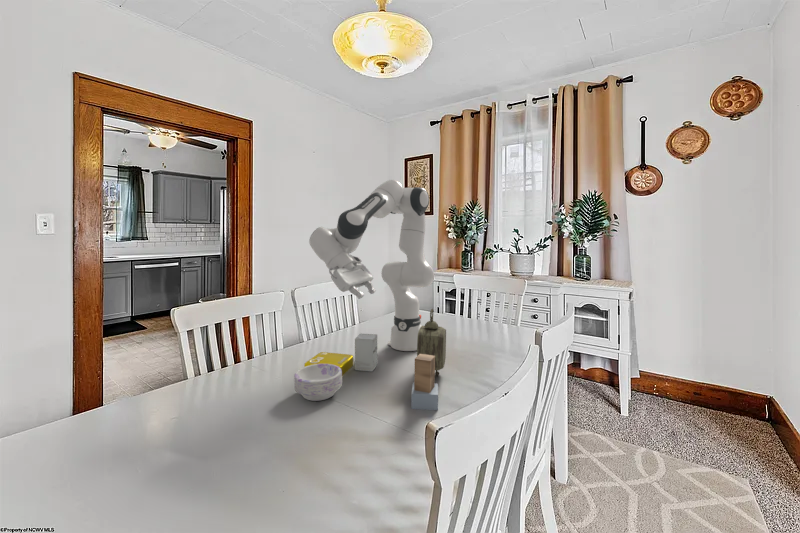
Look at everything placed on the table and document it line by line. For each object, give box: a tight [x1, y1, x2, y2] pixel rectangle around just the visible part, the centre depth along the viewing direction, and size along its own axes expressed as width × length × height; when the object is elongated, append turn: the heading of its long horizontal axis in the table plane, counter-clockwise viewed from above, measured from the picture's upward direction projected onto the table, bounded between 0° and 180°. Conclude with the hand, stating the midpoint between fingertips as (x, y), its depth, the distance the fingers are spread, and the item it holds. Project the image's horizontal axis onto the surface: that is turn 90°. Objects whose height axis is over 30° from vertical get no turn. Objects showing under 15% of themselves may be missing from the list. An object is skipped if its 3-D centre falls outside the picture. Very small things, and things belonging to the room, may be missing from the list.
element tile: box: [303, 351, 354, 377], centre depth 143 cm, size 15×15×5 cm
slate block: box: [410, 382, 439, 411], centre depth 115 cm, size 8×8×5 cm
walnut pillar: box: [413, 354, 436, 393], centre depth 115 cm, size 5×5×10 cm
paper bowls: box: [293, 364, 343, 402], centre depth 121 cm, size 15×15×8 cm
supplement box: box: [354, 333, 378, 372], centre depth 144 cm, size 7×7×13 cm
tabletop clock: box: [416, 308, 447, 377], centre depth 136 cm, size 14×9×25 cm, turn 168°
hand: (367, 295), depth 128 cm, fingers open, 8 cm apart
